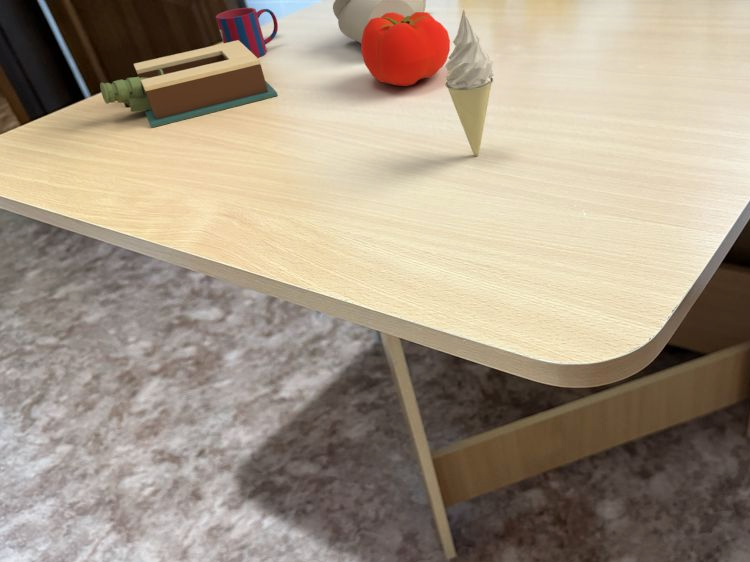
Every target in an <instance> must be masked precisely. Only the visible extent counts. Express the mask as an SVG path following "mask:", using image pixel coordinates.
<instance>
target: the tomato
mask: <svg viewBox="0 0 750 562" xmlns="http://www.w3.org/2000/svg"><path fill="white" fill-rule="evenodd" d="M360 47H361V48H360V49H361V56H362V60H363V62H364V65H365V67H366V68H367V69H368V72H369V73H370V75H371V76H372V77H373V78H374V79H376V80H377V81H378V82H381V83H384V84H389V85H394V86H399V87H408V86H409V87H410V86H412V85H416V83H417V82H418V81H419V80H422V79H423V80H424V79H427V78H432V77H433V76H435V74H437V72H439V71H440V70H441V69H442V67H444V66H445V65H446V63H447V60H448V58H449V55H450V50H451V40H450V36H449V32H448V29H446V28H445V27H444V25H443V24H442V23H441V22H439V21H438V20H436V19H435V18H434V16H433V15H431V13H429V12H426V11H425V12H415V13H414V14H413V15H411V16H407V17H404V16H403V15H400V14H396V13H386V14H384V15H383V16H381V17H380V18H379V17H378V18H373V19H371V20H370V21H369V22H368V24H367V25H366V27H365V29H364V31H363V36H362V40H361V43H360Z"/></svg>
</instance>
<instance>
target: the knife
mask: <svg viewBox="0 0 750 562" xmlns="http://www.w3.org/2000/svg"><path fill="white" fill-rule="evenodd" d="M160 75H164V73H163V70H162V69H158V76H160ZM143 79H147V78H142V77H141V78H139V77H138V76H135V77H127V78H125V79H122V78H121V79H117V80H114V81H112V83H111V82H105V83H104V82H100V84H99V86H100V92H101V96H102V99H103V101H104V103H105V104H106V105H108V104H110V103H115V102H117V103H118V104H119V103H120V104H122V103H123V104H124V107H125V108H126V109H127V108H130V112H131V113H136V112H145V110H152V108H151V105H150V103H149V100H148V98H147V95H146V93H145V90H144V87H143V85H142V82H141V80H143Z"/></svg>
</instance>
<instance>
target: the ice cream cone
mask: <svg viewBox="0 0 750 562" xmlns="http://www.w3.org/2000/svg"><path fill="white" fill-rule="evenodd" d="M480 41H481V38H480V37H479V36H478V34H477V33H476V32H475V31H474V29H473V27H472V24H471V23H470V21H469V19H468V16H467V14H466V11H465V9H462V14H461V18H460V22H459V26H458V30H457V34H456V36H455V38H454V39H453V41H452V43H453V44H454V48H453V51H452V52H451V53H450V54H449V55H448V59H449V60H448V61H447V62H446V63H445V64H444V67H445V69H446V70H447V71H448V72H447V75H446V77H445V78H446V82H445V88H446V89H447V91H448V93H449V95H450V97H451V100H452V103H453V106H454V108H455V111H456V113H457V115H458V118H459V121H460V123H461V126H462V128H463V131H464V133H465V136H466V138H467V141H468V143H469V146H470V149H471V151H472V154H473V156H474V157H478V156H479V155H480V150H481V145H482V139H483V134H484V128H485V121H486V117H487V111H488V105H489V100H490V95H491V89H492V85H493V82H494V78H493V77H494V69H493V60H492V59H491V57H490V55H489V53H488V52H487V51H486V50H484V49H483V48H482V45H481V44H480Z"/></svg>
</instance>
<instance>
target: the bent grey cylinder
mask: <svg viewBox="0 0 750 562" xmlns="http://www.w3.org/2000/svg"><path fill="white" fill-rule="evenodd" d="M426 7H427V0H334V1H333V4H332V12H333V14H334V16H335V17H336V19H337V25H338V29H339V30H340V32H341V33H342V34H343V35H344V36H346V37H347V38H350V39H351V40H353V41H355V42H357V43H360V44H361V40H362V36H363V31H364V29H365V27H366V25H367V24H368V22H369V21H370V20H371V19H373V18H378V17H379V18H380V17H381V16H383V15H384V14H386V13H396V14H400V15H403V16H404V17H407V16H411V15H413V14H414V13H415V12H426Z"/></svg>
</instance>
